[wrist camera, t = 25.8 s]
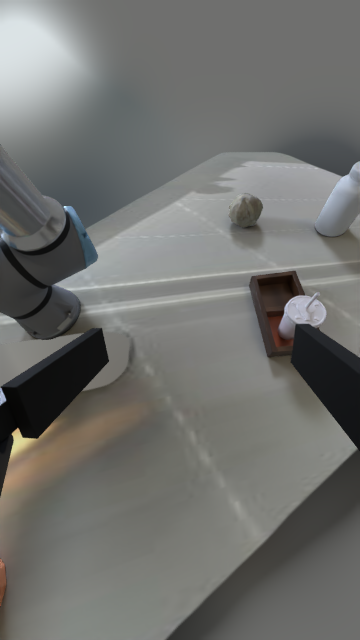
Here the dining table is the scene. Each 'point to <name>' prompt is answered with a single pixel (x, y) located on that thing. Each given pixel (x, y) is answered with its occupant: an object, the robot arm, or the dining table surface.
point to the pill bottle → (341, 205)
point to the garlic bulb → (245, 210)
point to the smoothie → (301, 314)
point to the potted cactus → (2, 580)
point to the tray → (274, 307)
